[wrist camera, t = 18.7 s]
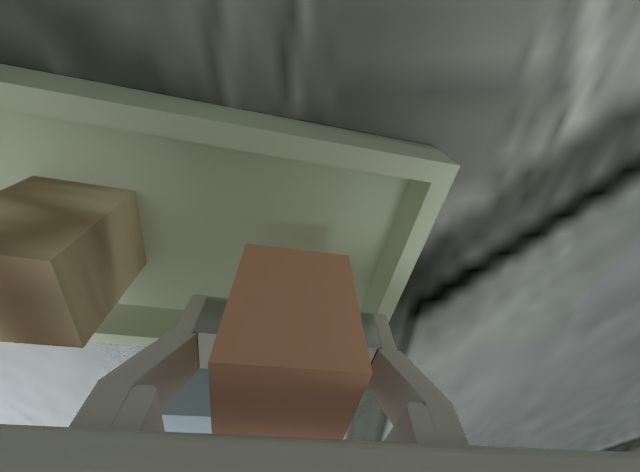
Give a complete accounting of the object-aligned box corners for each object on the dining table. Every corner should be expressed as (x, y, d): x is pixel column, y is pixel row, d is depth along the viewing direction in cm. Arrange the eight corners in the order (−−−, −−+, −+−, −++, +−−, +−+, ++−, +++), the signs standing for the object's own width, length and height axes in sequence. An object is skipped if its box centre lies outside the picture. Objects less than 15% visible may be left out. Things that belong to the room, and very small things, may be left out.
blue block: (177, 368, 21) (144, 450, 16) (172, 330, 18) (132, 413, 14) (235, 372, 21) (217, 452, 17) (236, 335, 19) (216, 417, 15)
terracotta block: (242, 316, 13) (212, 441, 9) (246, 243, 11) (207, 362, 7) (329, 323, 14) (339, 446, 9) (348, 255, 11) (372, 373, 7)
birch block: (60, 252, 14) (-44, 338, 10) (32, 175, 12) (-114, 242, 8) (146, 262, 15) (83, 347, 10) (135, 190, 13) (50, 260, 8)
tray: (19, 295, 16) (-25, 333, 14) (-105, 43, 10) (-219, 41, 8) (362, 328, 19) (369, 364, 17) (433, 146, 13) (460, 165, 11)
